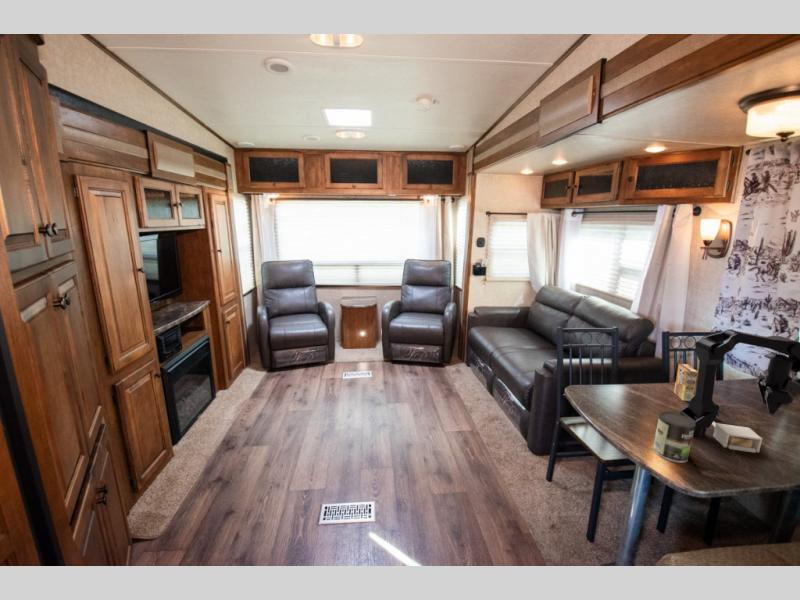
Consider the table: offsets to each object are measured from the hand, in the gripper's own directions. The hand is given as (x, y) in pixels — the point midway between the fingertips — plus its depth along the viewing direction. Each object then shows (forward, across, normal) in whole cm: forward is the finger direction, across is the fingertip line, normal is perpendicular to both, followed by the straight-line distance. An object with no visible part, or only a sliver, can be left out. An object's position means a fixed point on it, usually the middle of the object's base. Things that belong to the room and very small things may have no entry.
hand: (768, 408), depth 129 cm
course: (+13, -12, +9) cm, 20 cm away
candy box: (+14, +25, +22) cm, 36 cm away
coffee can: (+14, -31, +28) cm, 44 cm away
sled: (+13, -5, +11) cm, 18 cm away
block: (+12, -12, +9) cm, 19 cm away
